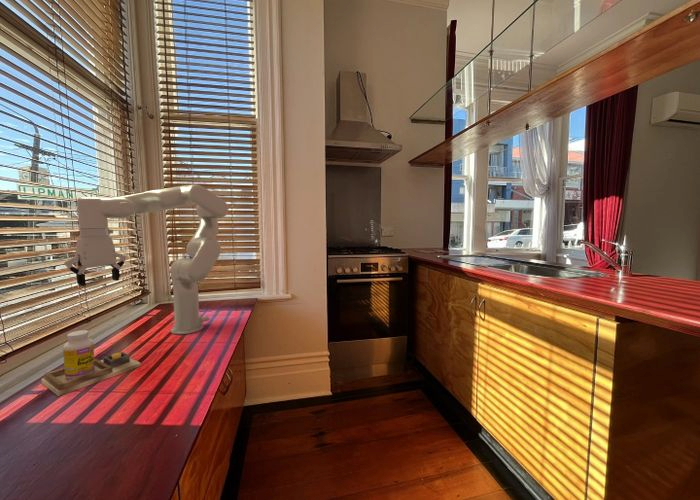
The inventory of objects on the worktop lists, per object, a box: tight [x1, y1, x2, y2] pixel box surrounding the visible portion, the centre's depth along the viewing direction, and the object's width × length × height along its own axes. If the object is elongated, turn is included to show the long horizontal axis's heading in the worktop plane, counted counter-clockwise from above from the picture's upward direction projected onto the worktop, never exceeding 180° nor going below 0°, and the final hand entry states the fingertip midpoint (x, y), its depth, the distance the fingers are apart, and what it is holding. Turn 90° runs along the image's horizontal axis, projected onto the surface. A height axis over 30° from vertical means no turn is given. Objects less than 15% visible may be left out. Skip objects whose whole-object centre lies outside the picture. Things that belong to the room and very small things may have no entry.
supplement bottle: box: [62, 329, 95, 380], centre depth 89 cm, size 7×7×13 cm
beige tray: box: [41, 351, 142, 397], centre depth 92 cm, size 20×13×3 cm, turn 150°
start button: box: [111, 352, 121, 360], centre depth 97 cm, size 2×2×3 cm
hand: (99, 282), depth 104 cm, fingers open, 9 cm apart
